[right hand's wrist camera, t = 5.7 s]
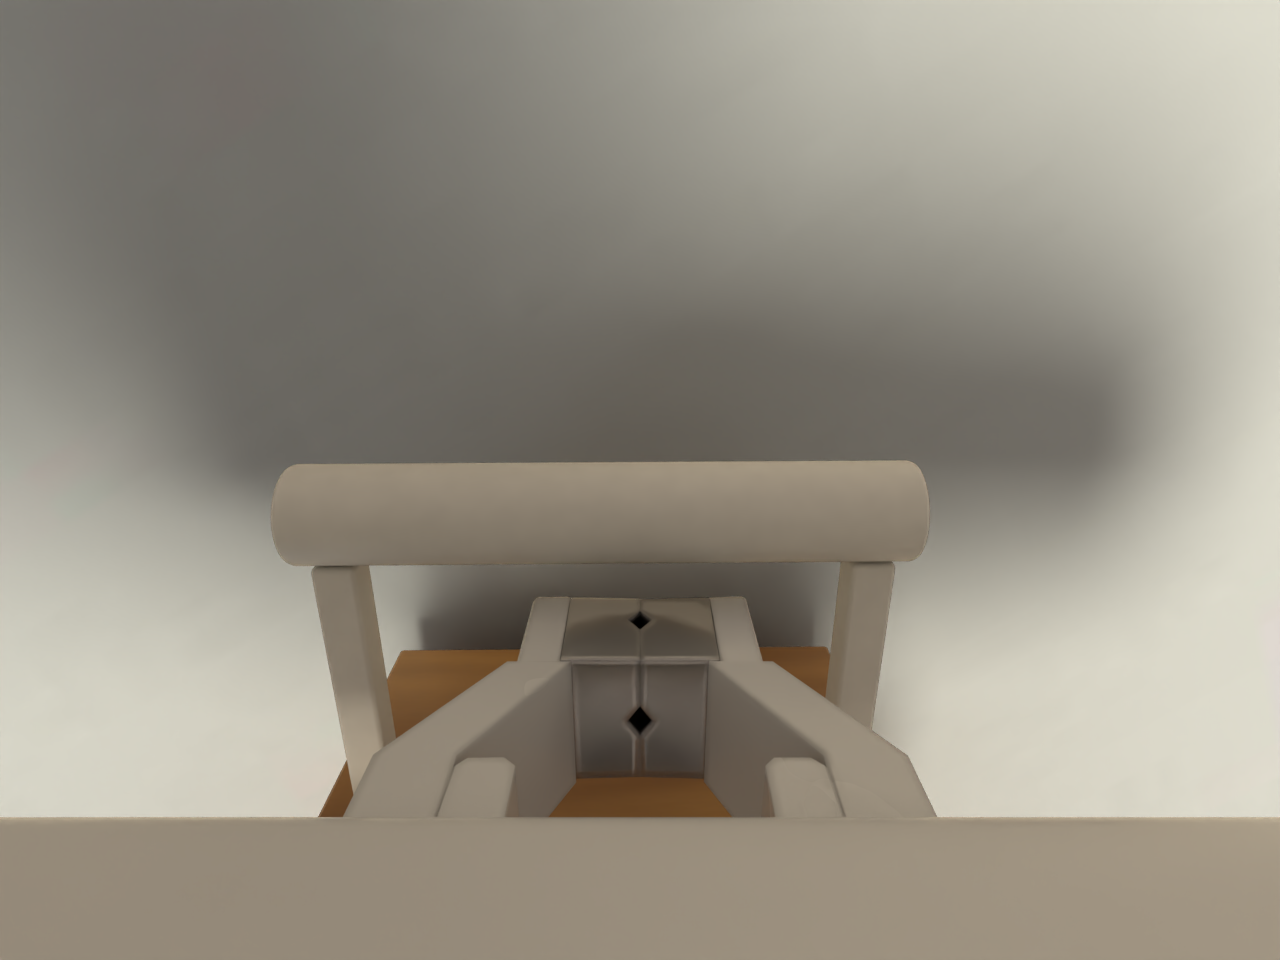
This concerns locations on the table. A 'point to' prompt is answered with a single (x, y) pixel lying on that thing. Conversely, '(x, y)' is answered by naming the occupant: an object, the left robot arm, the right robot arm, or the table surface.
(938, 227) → the table surface
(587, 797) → the drawer
